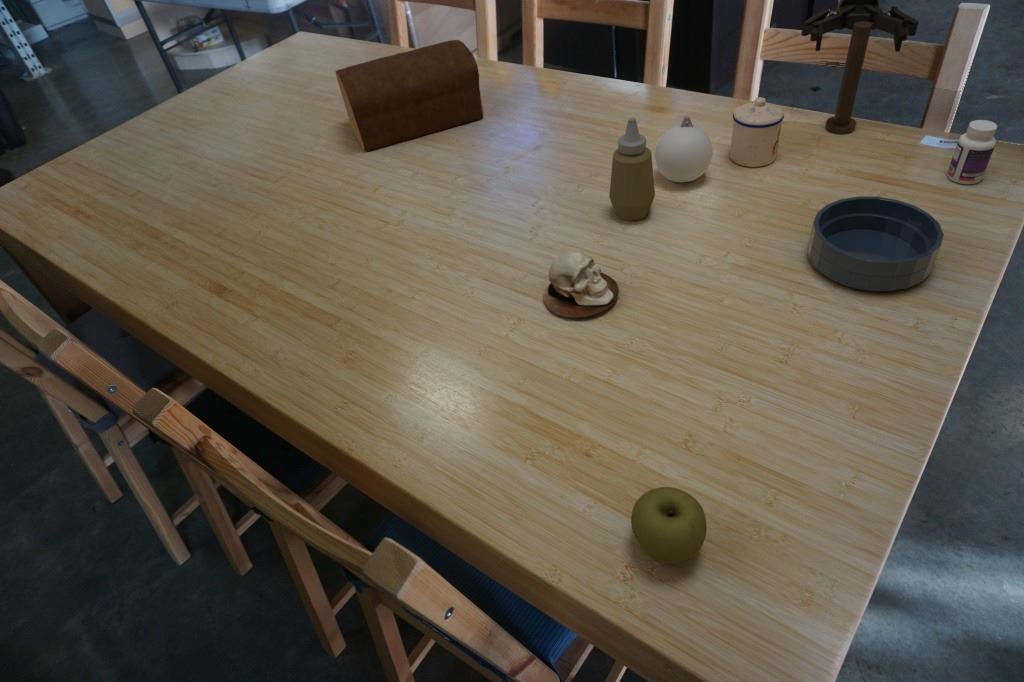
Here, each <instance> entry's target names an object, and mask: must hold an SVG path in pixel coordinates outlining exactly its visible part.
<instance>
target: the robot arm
mask: <svg viewBox="0 0 1024 682" xmlns="http://www.w3.org/2000/svg"><path fill="white" fill-rule="evenodd" d="M879 3H880V2H879V0H837V9H836V10H835V11H834V10H833V11H832V10H831V9H830V7H827V6H824V7H822V8H821V11H819V12H817V13H815V14H814V15H813V16H811V17H809V18H808V19H806V20H804V21H803V22H802V27H801V34H800V36H801V37H807V36H809V35H810V38H809V41H810V42H816V43H815V52H820V51H821V46H822V41H823V35H825V34H827V33H830V32H833V31H836V30H838V31H841V30H843V29H847V30H850V31H851V30H852V31H853V26H854V23H856V22H861V21H866V22H870V23H872V27H871V31H873V30H879V31H882V32H884V33H888V34H891V35H893V45H894V51H895V52H900V51H901V48H902V45H903V42H906V41H907V39H908V36H909V37H914V36H916V33H917V30H918V27H919V23H920V22H919V20H918V19H916V18H915V17H912V16H911V15H908V14H906V13H905V12H903V11H902V10H901V9H899V8H898V6H896V5H891V6H890V7H889V9H888V10H883V9H882V8H880V4H879Z"/></svg>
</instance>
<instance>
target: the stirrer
mask: <svg viewBox="0 0 1024 682" xmlns="http://www.w3.org/2000/svg"><path fill="white" fill-rule="evenodd" d="M872 24H873V23H870V22H866V21H861V22H856V23H854V26H853V30H852V31H851V36H850V41H849V45H848V49H847V50H848V51H847V55H846V58H845V59H846V60H845V64H844V69H843V74H842V77H841V83H840V86H839V87H840V88H839V93H838V97H837V101H836V107H835V111H834V114H833V116H831V117H828V118H827V119H826V121H825V125H824V129H825V130H826V131H827V132H829V133H831V134H833V135H849V134H852V133H853V132H854V131H856V127H857V120H856V119H855V118H852V113H853V109H854V104H855V101H856V96H857V91H858V88H859V83H860V78H861V74H862V70H863V66H864V61H865V57H866V54H867V49H868V46H869V45H868V44H869V40H870V35H871V31H872V29H871V27H872Z"/></svg>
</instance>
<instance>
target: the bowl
mask: <svg viewBox="0 0 1024 682" xmlns="http://www.w3.org/2000/svg"><path fill="white" fill-rule="evenodd" d="M809 235H810V236H809V241H808V244H807V254H808V259H809V261H810V262H811V264H812V265H813V266H814V268H815V269H816V270H817V271H818V272H819V273H821V274H822V275H824V276H825V277H827V278H828V279H830V280H831V281H833V282H835V283H837V284H840V285H842V286H845V287H848V288H851V289H854V290H860V291H864V292H865V291H866V292H893V291H898V290H905V289H909V288H911V287H913V286H916V285H918V284H920V283H922V282H923V281H924V280H925V279H926V278H927V277H928V276H930V274H931V273H932V271H933V268H934V265H935V263H936V261H937V257H938V255H939V253H940V249H941V247H942V243H943V240H944V235H945V234H944V232H943V229H942V226H941V223H939V222H938V221H937V219H936V218H934V217H933V216H932V215H931V213H929V212H927V211H926V210H924V209H922V208H920V207H918V206H917V205H915V204H912V203H908V202H904V201H901V200H898V199H895V198H889V197H882V196H863V195H862V196H861V195H860V196H853V197H846V198H841V199H838V200H836V201H833V202H830V203H828V204H826V205H824V206H823V207H822V208H821V209H819V210H818V211H817V213H816V215H815V217H814V219H813V222H812V226H811V231H810V234H809Z"/></svg>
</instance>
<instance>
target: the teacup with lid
mask: <svg viewBox="0 0 1024 682" xmlns="http://www.w3.org/2000/svg"><path fill="white" fill-rule="evenodd" d="M784 118H785V113H784V110H783V109H782V107H780V106H778V105H777V104H774V103H772V102H767V100H766V98H765V97H760V96H759V97H756V98H755V99H754V101H752V102H747V103H743V104H741V105H740V106H738V107H736V108H735V110H734V112H733V113H732V120H733V123H732V133H731V141H730V151H729V157H730V160H732V162H734V163H735V164H737V165H739V166H743V167H747V168H759V167H764V166H767V165H770V164H771V163H773V162H774V161H775V160H776V159H777V157H778V155H777V154H778V151H779V150H778V149H779V144H780V136H781V130H782V124H783V120H784Z"/></svg>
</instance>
